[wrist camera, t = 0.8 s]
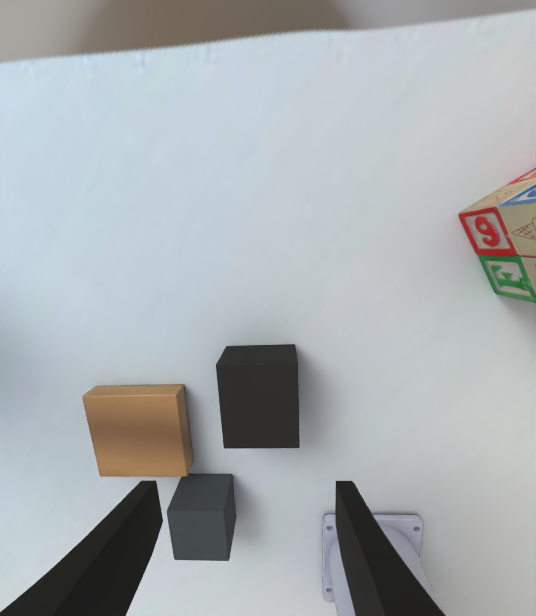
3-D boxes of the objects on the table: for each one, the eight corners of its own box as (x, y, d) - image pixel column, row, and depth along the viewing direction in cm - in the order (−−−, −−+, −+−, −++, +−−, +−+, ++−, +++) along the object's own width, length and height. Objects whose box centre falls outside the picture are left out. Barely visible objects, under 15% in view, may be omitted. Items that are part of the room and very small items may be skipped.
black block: (296, 417, 20) (299, 448, 17) (232, 418, 20) (223, 448, 17) (294, 344, 19) (297, 363, 15) (226, 345, 19) (215, 364, 16)
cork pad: (193, 461, 21) (187, 477, 20) (111, 461, 22) (99, 477, 20) (184, 384, 20) (176, 394, 18) (95, 385, 20) (81, 396, 19)
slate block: (236, 517, 22) (229, 561, 19) (188, 517, 22) (174, 560, 19) (232, 473, 21) (224, 512, 18) (182, 473, 21) (165, 511, 18)
